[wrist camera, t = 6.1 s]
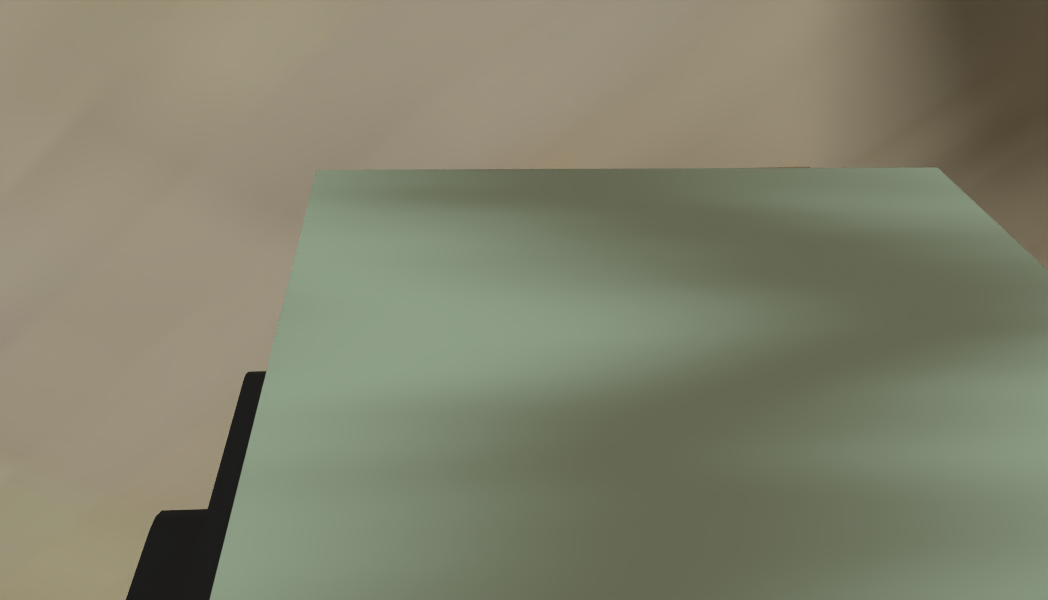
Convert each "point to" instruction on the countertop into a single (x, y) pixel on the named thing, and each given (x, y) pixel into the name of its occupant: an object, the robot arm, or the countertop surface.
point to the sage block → (649, 392)
